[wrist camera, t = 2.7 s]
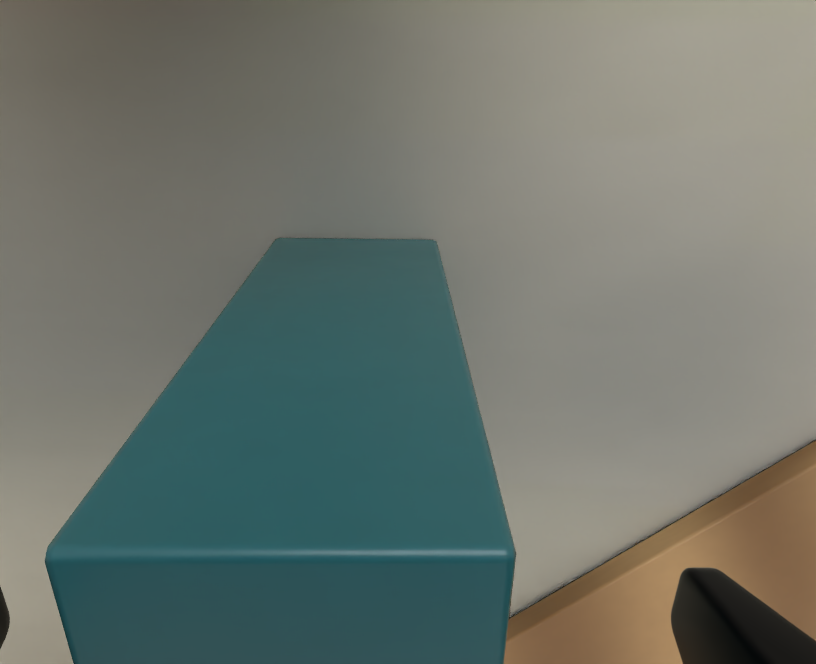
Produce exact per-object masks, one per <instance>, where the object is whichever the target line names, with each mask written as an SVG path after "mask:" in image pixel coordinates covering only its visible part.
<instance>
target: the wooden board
mask: <svg viewBox="0 0 816 664" xmlns="http://www.w3.org/2000/svg"><path fill="white" fill-rule="evenodd" d="M690 567H711V568H716V569H718V570H720V571H722V572H723V573H724V574H726V575H727V576H729V577H730V578H731V579H733V580H734V581H735V582H737V583H738V584H739V585H741V586H742V587H743V588H745V589H746V590H748V591H749V592H750V593H752V594H753V595H754V596H756V597H757V598H758V599H760V600H761V601H762V602H764V603H765V604H767V605H768V606H769V607H771V608H772V609H773V610H775V611H776V612H777V613H779V614H780V615H781V616H783V617H784V618H785V619H787V620H788V621H790V622H791V623H792V624H794V625H795V626H796V627H798V628H799V629H800V630H802V631H803V632H804V633H806V634H807V635H809V636H810V637H811V638H813V639H814V640H815V641H816V441H814V442H812V443H811V444H809V445H807V446H805V447H804V448H802V449H800V450H798V451H797V452H795V453H793V454H792V455H790V456H788V457H786V458H785V459H783V460H781V461H780V462H778V463H776V464H774V465H773V466H771V467H769V468H768V469H766V470H764V471H762V472H761V473H759V474H757V475H756V476H754V477H752V478H750V479H749V480H747V481H745V482H743V483H742V484H740V485H738V486H737V487H735V488H733V489H731V490H730V491H728V492H726V493H725V494H723V495H721V496H719V497H718V498H716V499H714V500H713V501H711V502H709V503H707V504H706V505H704V506H702V507H700V508H699V509H697V510H695V511H694V512H692V513H690V514H688V515H687V516H685V517H683V518H682V519H680V520H678V521H676V522H675V523H673V524H671V525H670V526H668V527H666V528H664V529H663V530H661V531H659V532H658V533H656V534H654V535H652V536H651V537H649V538H647V539H645V540H644V541H642V542H640V543H639V544H637V545H635V546H633V547H632V548H630V549H628V550H627V551H625V552H623V553H621V554H620V555H618V556H616V557H615V558H613V559H611V560H609V561H608V562H606V563H604V564H603V565H601V566H599V567H597V568H596V569H594V570H592V571H590V572H589V573H587V574H585V575H584V576H582V577H580V578H578V579H577V580H575V581H573V582H572V583H570V584H568V585H566V586H565V587H563V588H561V589H560V590H558V591H556V592H554V593H553V594H551V595H549V596H548V597H546V598H544V599H542V600H541V601H539V602H537V603H535V604H534V605H532V606H530V607H529V608H527V609H525V610H523V611H522V612H520V613H518V614H517V615H515V616H513V617H511V618H510V619H509V621H508V630H507V639H506V648H505V657H504V664H683V662H682V659H681V656H680V653H679V650H678V647H677V644H676V640H675V637H674V634H673V631H672V626H671V610H672V606H673V602H674V598H675V595H676V591H677V587H678V583H679V579H680V576H681V573H682V572H683V570H684V569H686V568H690Z"/></svg>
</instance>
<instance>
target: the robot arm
mask: <svg viewBox="0 0 816 664" xmlns="http://www.w3.org/2000/svg"><path fill="white" fill-rule="evenodd" d="M9 623H10V617H9V611H8V608H7V605H6V602H5V599H4V596H3V593H2V590H1V587H0V649H1V646H2V644H3V642H4V640H5V638H6V635H7V632H8V629H9ZM671 626H672V631H673V634H674V637H675V640H676V644H677V647H678V650H679V653H680V656H681V659H682V662H683V664H816V641H815V640H814V639H813V638H811V637H810V636H809V635H807V634H806V633H804V632H803V631H802V630H800V629H799V628H798V627H796V626H795V625H794V624H792V623H791V622H790V621H788V620H787V619H785V618H784V617H783V616H781V615H780V614H779V613H777V612H776V611H775V610H773V609H772V608H771V607H769V606H768V605H767V604H765V603H764V602H762V601H761V600H760V599H758V598H757V597H756V596H754V595H753V594H752V593H750V592H749V591H748V590H746V589H745V588H743V587H742V586H741V585H739V584H738V583H737V582H735V581H734V580H733V579H731V578H730V577H729V576H727V575H726V574H724V573H723V572H722V571H720V570H718V569H716V568H711V567H690V568H686V569H684V570H683V572H682V573H681V576H680V579H679V583H678V587H677V591H676V595H675V598H674V602H673V606H672V610H671Z"/></svg>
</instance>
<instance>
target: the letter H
mask: <svg viewBox="0 0 816 664" xmlns="http://www.w3.org/2000/svg"><path fill="white" fill-rule="evenodd" d="M515 559H516V551H515V547H514V543H513V539H512V535H511V531H510V527H509V524H508V520H507V516H506V512H505V508H504V504H503V500H502V496H501V492H500V488H499V484H498V480H497V477H496V473H495V469H494V465H493V461H492V457H491V453H490V449H489V445H488V441H487V437H486V433H485V429H484V426H483V422H482V418H481V414H480V410H479V406H478V402H477V398H476V394H475V390H474V386H473V382H472V378H471V375H470V371H469V367H468V363H467V359H466V355H465V351H464V347H463V343H462V339H461V335H460V331H459V327H458V324H457V320H456V316H455V312H454V308H453V304H452V300H451V296H450V292H449V288H448V284H447V280H446V276H445V273H444V269H443V265H442V261H441V257H440V253H439V249H438V245H437V242H436V241H434V240H414V239H331V238H278V239H275V241H274V242H273V243H272V245H271V246H270V247H269V249H268V250H267V252H266V253H265V254H264V256H263V257H262V258H261V260H260V261H259V262H258V264H257V265H256V266H255V268H254V269H253V270H252V272H251V273H250V274H249V276H248V277H247V279H246V280H245V281H244V283H243V284H242V285H241V287H240V288H239V289H238V291H237V292H236V293H235V295H234V296H233V297H232V299H231V300H230V301H229V303H228V304H227V306H226V307H225V308H224V310H223V311H222V312H221V314H220V315H219V316H218V318H217V319H216V320H215V322H214V323H213V324H212V326H211V327H210V328H209V330H208V331H207V332H206V334H205V335H204V337H203V338H202V339H201V341H200V342H199V343H198V345H197V346H196V347H195V349H194V350H193V351H192V353H191V354H190V355H189V357H188V358H187V359H186V361H185V362H184V364H183V365H182V366H181V368H180V369H179V370H178V372H177V373H176V374H175V376H174V377H173V378H172V380H171V381H170V382H169V384H168V385H167V386H166V388H165V389H164V391H163V392H162V393H161V395H160V396H159V397H158V399H157V400H156V401H155V403H154V404H153V405H152V407H151V408H150V409H149V411H148V412H147V413H146V415H145V416H144V417H143V419H142V420H141V422H140V423H139V424H138V426H137V427H136V428H135V430H134V431H133V432H132V434H131V435H130V436H129V438H128V439H127V440H126V442H125V443H124V444H123V446H122V447H121V449H120V450H119V451H118V453H117V454H116V455H115V457H114V458H113V459H112V461H111V462H110V463H109V465H108V466H107V467H106V469H105V470H104V471H103V473H102V474H101V475H100V477H99V478H98V480H97V481H96V482H95V484H94V485H93V486H92V488H91V489H90V490H89V492H88V493H87V494H86V496H85V497H84V498H83V500H82V501H81V502H80V504H79V505H78V507H77V508H76V509H75V511H74V512H73V513H72V515H71V516H70V517H69V519H68V520H67V521H66V523H65V524H64V525H63V527H62V528H61V529H60V531H59V532H58V534H57V535H56V536H55V538H54V539H53V540H52V542H51V543H50V544H49V546H48V548H47V552H46V557H45V564H46V568H47V571H48V575H49V578H50V582H51V585H52V589H53V592H54V596H55V599H56V603H57V606H58V610H59V613H60V617H61V621H62V624H63V628H64V631H65V635H66V638H67V642H68V645H69V649H70V652H71V656H72V659H73V663H74V664H504V657H505V648H506V639H507V630H508V621H509V613H510V604H511V595H512V586H513V577H514V568H515Z"/></svg>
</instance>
